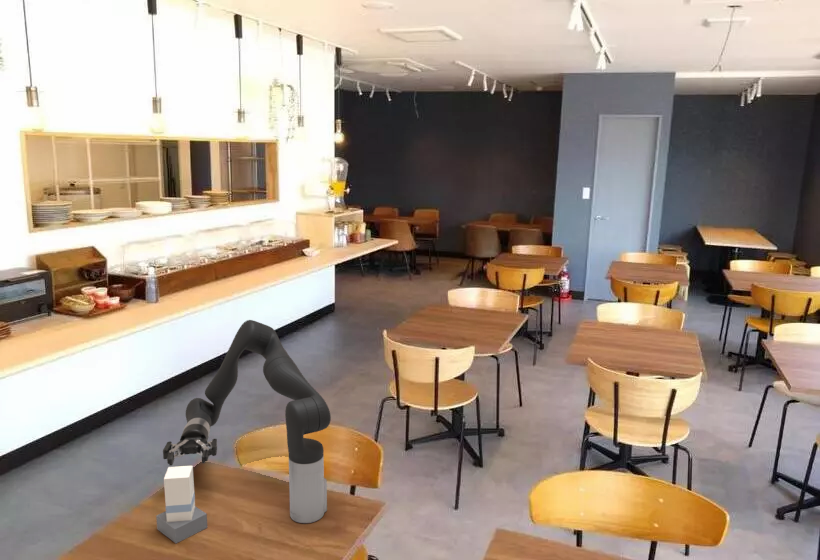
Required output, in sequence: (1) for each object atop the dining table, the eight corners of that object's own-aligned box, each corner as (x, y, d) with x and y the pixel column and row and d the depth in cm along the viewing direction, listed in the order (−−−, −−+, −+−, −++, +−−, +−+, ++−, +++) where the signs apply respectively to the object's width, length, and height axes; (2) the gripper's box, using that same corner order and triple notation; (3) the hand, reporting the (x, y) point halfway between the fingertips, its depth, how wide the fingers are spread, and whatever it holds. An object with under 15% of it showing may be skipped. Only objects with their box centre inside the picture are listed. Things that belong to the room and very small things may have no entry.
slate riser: (188, 514, 171) (187, 501, 170) (207, 527, 166) (206, 513, 165) (157, 529, 164) (156, 515, 164) (175, 543, 159) (174, 529, 158)
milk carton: (171, 508, 167) (168, 467, 164) (195, 506, 168) (192, 465, 165) (166, 522, 161) (163, 479, 158) (191, 520, 162) (189, 477, 159)
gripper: (169, 424, 186) (158, 450, 171) (219, 421, 189) (213, 446, 173) (171, 448, 188) (160, 475, 172) (221, 444, 191) (214, 471, 175)
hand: (186, 461), depth 173 cm, fingers open, 8 cm apart
